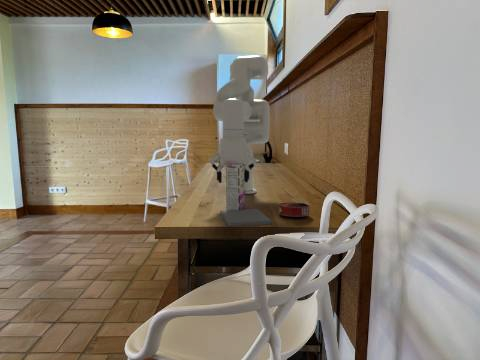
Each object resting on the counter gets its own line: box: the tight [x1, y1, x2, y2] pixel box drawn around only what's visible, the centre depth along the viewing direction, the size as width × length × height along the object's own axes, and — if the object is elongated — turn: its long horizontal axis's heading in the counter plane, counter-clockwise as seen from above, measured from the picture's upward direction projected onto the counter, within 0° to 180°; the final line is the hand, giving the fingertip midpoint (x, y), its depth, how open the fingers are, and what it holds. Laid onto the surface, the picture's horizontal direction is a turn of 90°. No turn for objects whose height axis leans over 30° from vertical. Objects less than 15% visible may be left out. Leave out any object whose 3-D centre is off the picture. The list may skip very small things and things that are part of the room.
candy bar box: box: [225, 164, 246, 210], centre depth 117 cm, size 11×5×16 cm, turn 169°
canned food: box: [278, 187, 310, 218], centre depth 108 cm, size 11×10×10 cm
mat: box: [219, 208, 272, 227], centre depth 105 cm, size 16×13×1 cm
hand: (233, 182), depth 120 cm, fingers open, 9 cm apart
